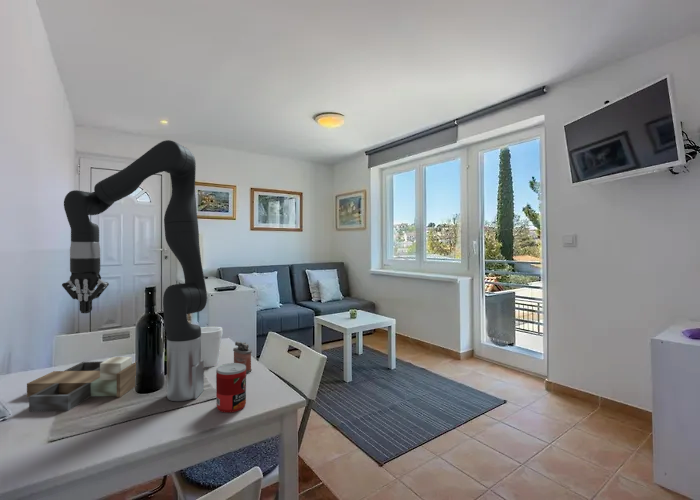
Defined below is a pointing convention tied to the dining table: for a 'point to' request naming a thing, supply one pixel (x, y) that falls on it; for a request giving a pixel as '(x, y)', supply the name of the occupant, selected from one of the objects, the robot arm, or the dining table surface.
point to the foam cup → (210, 345)
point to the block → (113, 367)
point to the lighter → (243, 355)
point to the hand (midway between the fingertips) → (85, 312)
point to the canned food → (231, 387)
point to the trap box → (76, 386)
